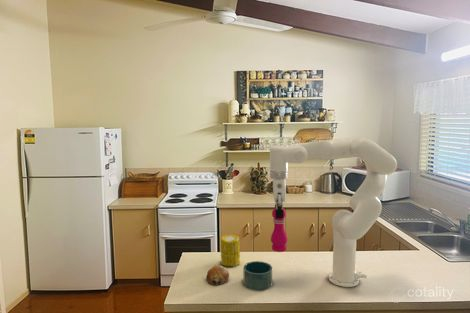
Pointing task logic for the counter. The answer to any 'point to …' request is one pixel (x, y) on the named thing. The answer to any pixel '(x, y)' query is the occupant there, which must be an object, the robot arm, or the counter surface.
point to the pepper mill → (279, 233)
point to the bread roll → (217, 275)
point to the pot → (257, 275)
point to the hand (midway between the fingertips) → (279, 215)
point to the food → (230, 250)
